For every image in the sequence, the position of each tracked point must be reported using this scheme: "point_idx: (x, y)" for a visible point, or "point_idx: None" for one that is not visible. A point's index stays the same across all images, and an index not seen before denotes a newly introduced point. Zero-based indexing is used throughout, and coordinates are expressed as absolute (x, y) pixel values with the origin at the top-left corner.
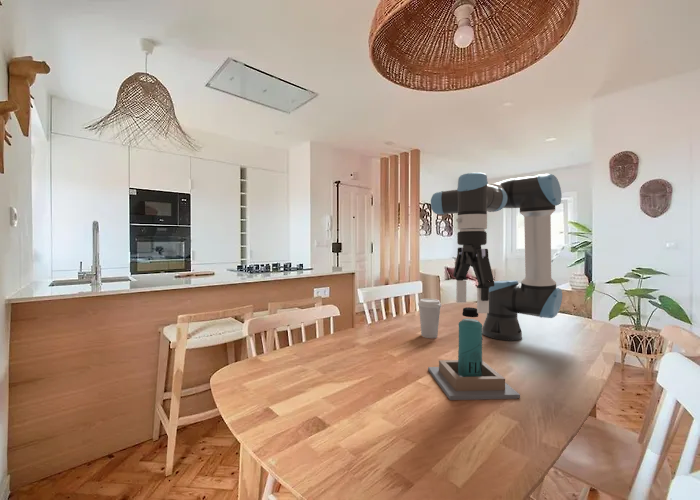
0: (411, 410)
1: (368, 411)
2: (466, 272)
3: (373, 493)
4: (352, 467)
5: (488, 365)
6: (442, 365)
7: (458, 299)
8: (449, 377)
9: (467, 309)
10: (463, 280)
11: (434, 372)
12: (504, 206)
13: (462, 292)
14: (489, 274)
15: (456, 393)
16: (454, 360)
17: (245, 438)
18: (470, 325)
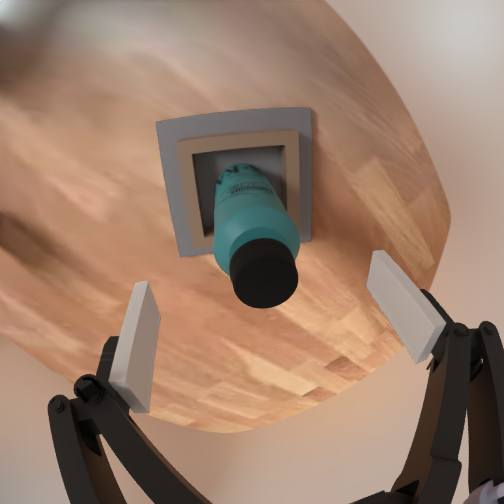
0: (330, 292)
1: (324, 332)
2: (150, 448)
3: None
4: None
5: (217, 137)
6: None
7: (157, 323)
8: None
9: (284, 299)
10: (119, 390)
11: (208, 249)
12: None
13: (145, 335)
14: (500, 375)
15: (302, 228)
16: (189, 214)
17: (344, 389)
18: (294, 259)
